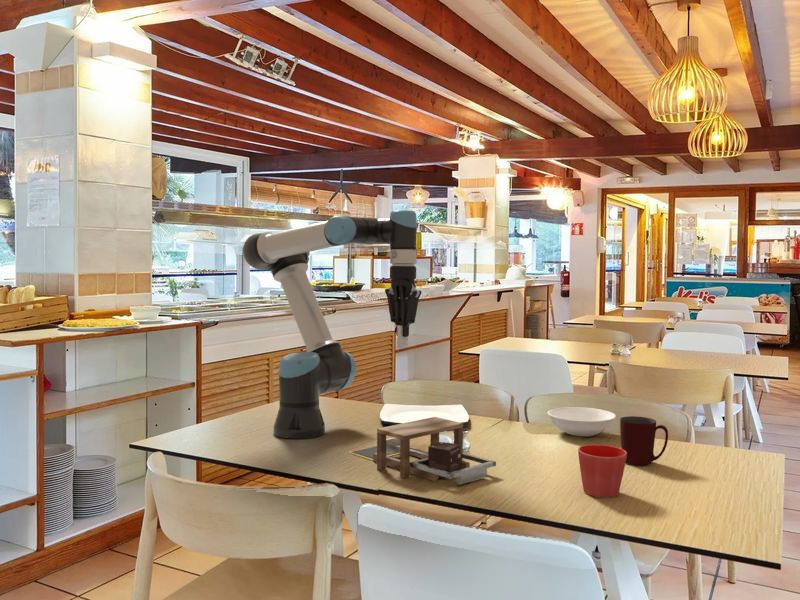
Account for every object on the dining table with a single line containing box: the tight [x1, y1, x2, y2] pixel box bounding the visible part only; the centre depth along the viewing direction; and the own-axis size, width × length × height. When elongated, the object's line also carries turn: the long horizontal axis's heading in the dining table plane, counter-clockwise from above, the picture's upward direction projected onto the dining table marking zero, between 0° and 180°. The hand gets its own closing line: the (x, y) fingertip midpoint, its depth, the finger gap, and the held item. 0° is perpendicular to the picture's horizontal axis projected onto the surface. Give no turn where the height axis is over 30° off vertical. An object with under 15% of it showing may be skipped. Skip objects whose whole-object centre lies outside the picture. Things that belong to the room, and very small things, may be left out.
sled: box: [386, 437, 497, 486], centre depth 188 cm, size 29×16×5 cm, turn 43°
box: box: [427, 441, 461, 480], centre depth 183 cm, size 6×6×7 cm
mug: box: [619, 415, 669, 467], centre depth 194 cm, size 12×9×11 cm
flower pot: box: [577, 444, 627, 499], centre depth 170 cm, size 11×11×10 cm
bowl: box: [547, 406, 617, 437], centre depth 225 cm, size 20×20×6 cm
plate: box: [379, 403, 470, 426], centre depth 243 cm, size 29×29×3 cm
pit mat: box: [347, 445, 400, 462], centre depth 202 cm, size 10×12×1 cm
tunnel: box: [373, 417, 471, 482], centre depth 190 cm, size 22×20×10 cm
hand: (402, 347), depth 216 cm, fingers closed
